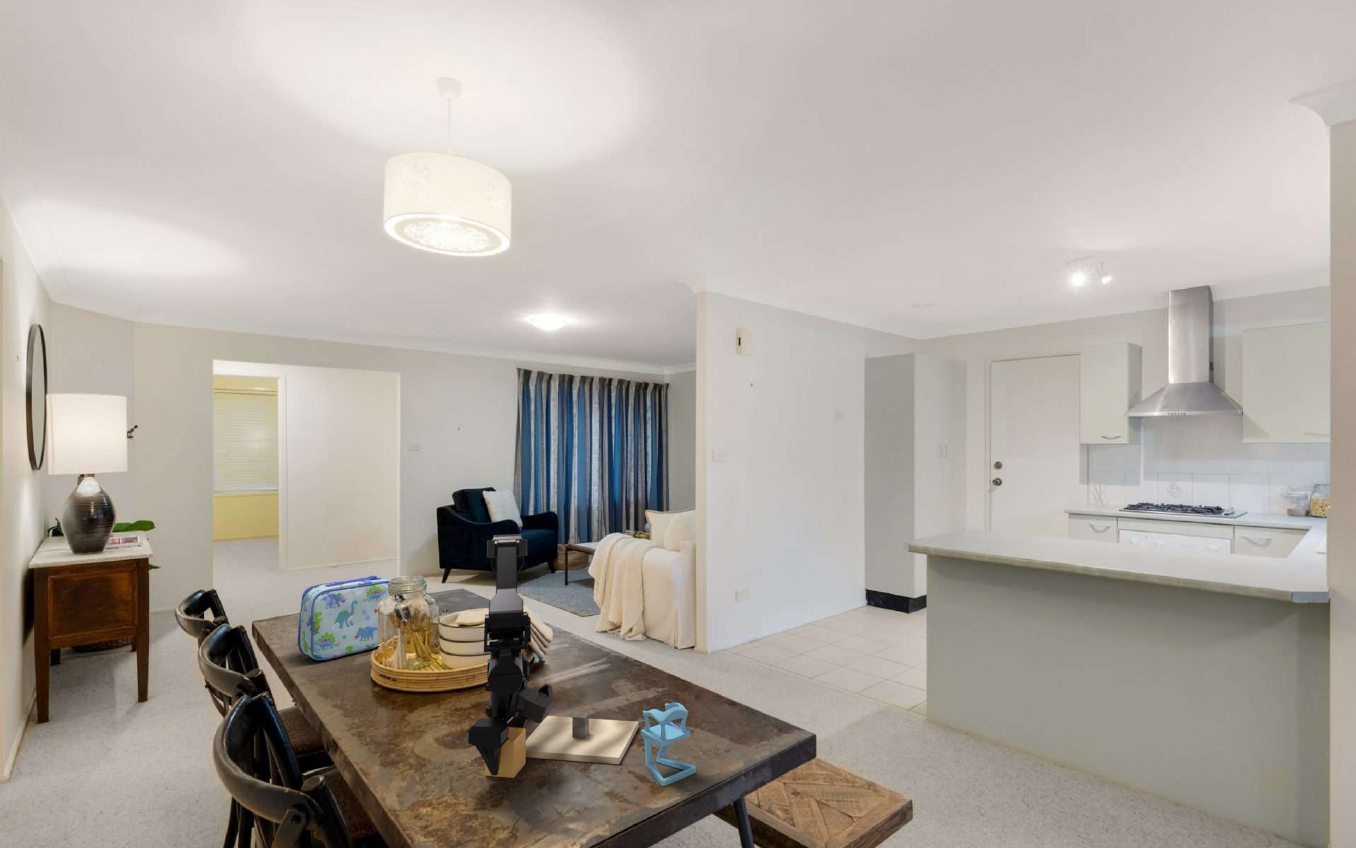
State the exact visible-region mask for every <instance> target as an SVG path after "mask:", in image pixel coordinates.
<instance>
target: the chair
mask: <svg viewBox="0 0 1356 848" xmlns="http://www.w3.org/2000/svg"><path fill="white" fill-rule="evenodd" d="M664 707H665V711H661V710H659V709H656V708H653V709H649V710H642V714H643V715H642V716H643V719H644V721H645V727H644V729H641V730H640V736H642V739H643V741H644V750H645V751H644V752H645V767H646V768H647V769H649V770H650V772H651V774H652V775H653V776H654V777H653V778H655V780H656V781H657V782H658V783H659V785H660V786H662V787H667V786H668V785H671V784H673V783H676V782H678V781H680V780H683V779H685V778H688V777H690V776H691V775H694V774H695V773H696V772H697V768H696V766H695V765H692V764H689V763H687V762H682V761H679V760H676V759H673V758H668V757H666V756H665V754H666V751H667V750H668V748H669V746H670V744H673V743H675V742H677V741H681V740H686V739H688V738H691V731H689V729H688V730H687V728H686V727H687V726H686V722H687V719H688V716H689V710H687V709H686V707H684V705H683V704H681V703H679V702H671V703H665V704H664ZM649 717H651V718H652V719H654V720H655V721H656V722H657V723H658V724H656V725H655V726H651V722H650V719H649ZM680 719H682V720H681V722H680V726H678V725H676V724H675V723H674V722H672V721H676V720H680ZM653 744H657V745H658V746H659V747H660V748H659V750H658V753H657V754H656V759H655V761H656V762H657V763H659V764H662V765H665V766H669V767H671V768H672V767H673V768H676V769H680V770H682V771H679V772H677V773H675V774H672V775H670V776H667V777H665V778H664V777H663V775H662V773H661V772H660V770H659V769H658V768H657V766H656V764H655V763H654V762H653V755H652V751H653V750H652V749H653V748H652V745H653Z"/></svg>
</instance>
